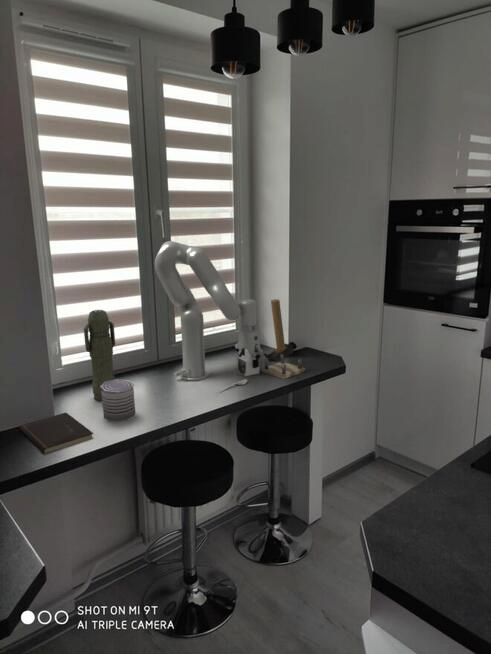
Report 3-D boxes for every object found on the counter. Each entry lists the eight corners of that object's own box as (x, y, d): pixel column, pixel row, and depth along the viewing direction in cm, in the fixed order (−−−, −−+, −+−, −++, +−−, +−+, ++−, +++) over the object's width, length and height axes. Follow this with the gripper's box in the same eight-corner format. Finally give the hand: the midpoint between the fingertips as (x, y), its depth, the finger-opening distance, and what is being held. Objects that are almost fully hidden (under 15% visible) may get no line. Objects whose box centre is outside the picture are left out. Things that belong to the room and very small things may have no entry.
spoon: (250, 383, 208) (250, 380, 208) (213, 397, 194) (213, 393, 194) (243, 381, 211) (243, 378, 211) (207, 394, 197) (206, 390, 197)
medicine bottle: (238, 371, 222) (237, 346, 220) (251, 369, 226) (251, 344, 223) (245, 376, 216) (245, 350, 214) (259, 373, 220) (259, 347, 217)
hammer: (273, 366, 236) (265, 308, 225) (265, 364, 239) (257, 307, 228) (297, 350, 250) (291, 294, 239) (289, 348, 253) (282, 293, 242)
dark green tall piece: (124, 395, 197) (117, 309, 189) (99, 404, 188) (91, 315, 180) (111, 390, 202) (103, 307, 194) (86, 399, 193) (77, 312, 185)
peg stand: (284, 378, 212) (284, 366, 211) (261, 371, 222) (261, 360, 221) (305, 371, 222) (305, 359, 220) (282, 364, 232) (282, 353, 230)
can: (126, 406, 186) (124, 376, 183) (141, 415, 177) (139, 384, 174) (98, 415, 178) (95, 384, 175) (112, 424, 170) (109, 392, 167)
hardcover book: (66, 418, 178) (66, 412, 177) (93, 439, 161) (93, 432, 160) (20, 431, 167) (19, 425, 167) (44, 455, 150) (43, 448, 150)
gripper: (268, 329, 212) (268, 367, 217) (240, 323, 225) (241, 359, 229) (256, 332, 207) (256, 371, 212) (228, 326, 220) (229, 363, 224)
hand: (248, 365), depth 220 cm, fingers closed on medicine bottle, 8 cm apart
